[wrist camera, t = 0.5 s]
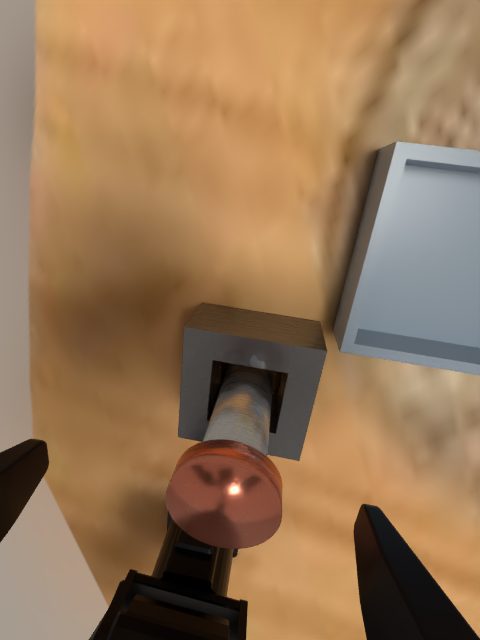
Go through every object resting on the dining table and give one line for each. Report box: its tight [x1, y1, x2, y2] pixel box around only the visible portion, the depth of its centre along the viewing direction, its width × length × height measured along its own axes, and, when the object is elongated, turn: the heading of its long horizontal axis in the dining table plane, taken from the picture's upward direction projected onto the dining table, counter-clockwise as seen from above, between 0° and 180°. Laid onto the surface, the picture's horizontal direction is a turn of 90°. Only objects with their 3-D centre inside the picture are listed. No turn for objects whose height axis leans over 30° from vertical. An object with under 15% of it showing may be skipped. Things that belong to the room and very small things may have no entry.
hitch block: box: [178, 303, 327, 461], centre depth 20 cm, size 8×8×4 cm
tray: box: [333, 142, 480, 375], centre depth 17 cm, size 10×10×3 cm
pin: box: [166, 363, 282, 549], centre depth 17 cm, size 4×4×11 cm
